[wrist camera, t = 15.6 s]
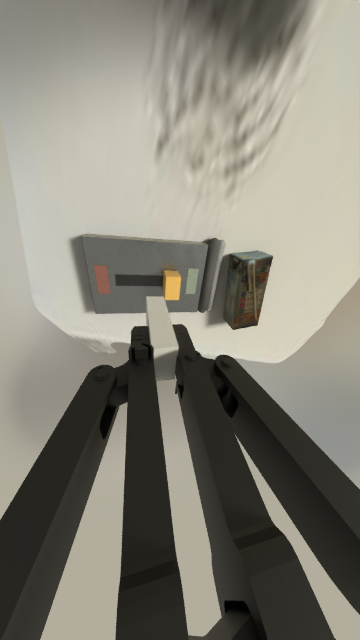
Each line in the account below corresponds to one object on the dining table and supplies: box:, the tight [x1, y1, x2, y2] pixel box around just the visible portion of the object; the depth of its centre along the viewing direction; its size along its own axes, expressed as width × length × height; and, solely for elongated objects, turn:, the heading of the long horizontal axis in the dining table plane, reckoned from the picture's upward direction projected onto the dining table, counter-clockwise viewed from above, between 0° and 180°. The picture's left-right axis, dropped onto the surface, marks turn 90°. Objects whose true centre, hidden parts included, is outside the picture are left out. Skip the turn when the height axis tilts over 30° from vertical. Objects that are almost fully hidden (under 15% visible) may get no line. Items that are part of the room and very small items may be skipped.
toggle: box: [163, 270, 181, 300], centre depth 37 cm, size 5×3×4 cm, turn 175°
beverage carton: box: [224, 251, 273, 330], centre depth 45 cm, size 8×19×7 cm, turn 3°
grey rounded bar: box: [198, 238, 225, 313], centre depth 43 cm, size 18×4×2 cm, turn 175°
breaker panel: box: [81, 234, 208, 314], centre depth 39 cm, size 16×24×3 cm, turn 85°
